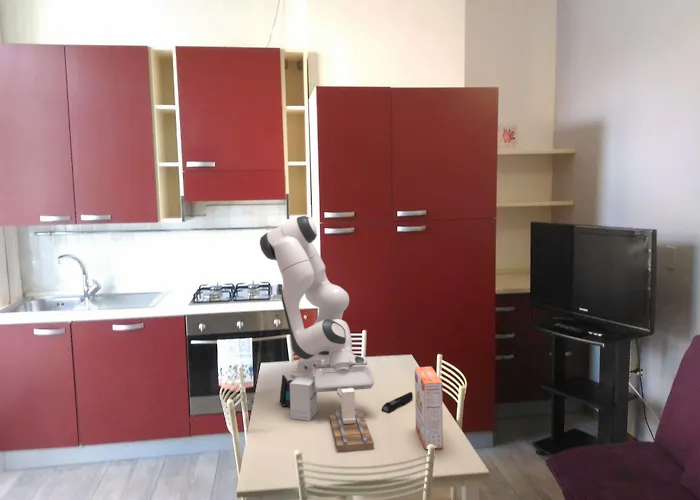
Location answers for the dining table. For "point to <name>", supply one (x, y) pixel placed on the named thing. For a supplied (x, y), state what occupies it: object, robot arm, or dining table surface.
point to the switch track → (351, 433)
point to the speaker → (285, 392)
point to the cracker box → (429, 407)
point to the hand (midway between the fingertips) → (345, 401)
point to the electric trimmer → (397, 402)
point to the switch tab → (348, 405)
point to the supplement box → (303, 398)
